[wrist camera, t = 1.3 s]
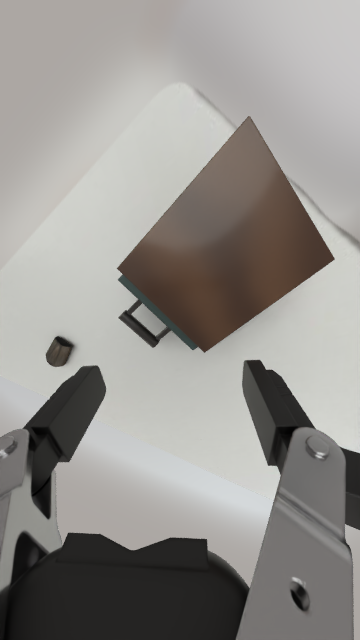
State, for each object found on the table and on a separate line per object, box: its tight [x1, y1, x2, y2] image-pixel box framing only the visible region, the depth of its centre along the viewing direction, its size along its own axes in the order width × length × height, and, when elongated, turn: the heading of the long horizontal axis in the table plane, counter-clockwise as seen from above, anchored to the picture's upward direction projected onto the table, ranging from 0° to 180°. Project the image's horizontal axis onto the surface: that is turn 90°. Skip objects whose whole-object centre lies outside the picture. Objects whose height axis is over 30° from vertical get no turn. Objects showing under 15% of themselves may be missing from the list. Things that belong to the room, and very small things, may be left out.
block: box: [46, 336, 72, 367], centre depth 31 cm, size 4×6×2 cm, turn 147°
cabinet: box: [117, 116, 335, 352], centre depth 20 cm, size 15×13×9 cm
